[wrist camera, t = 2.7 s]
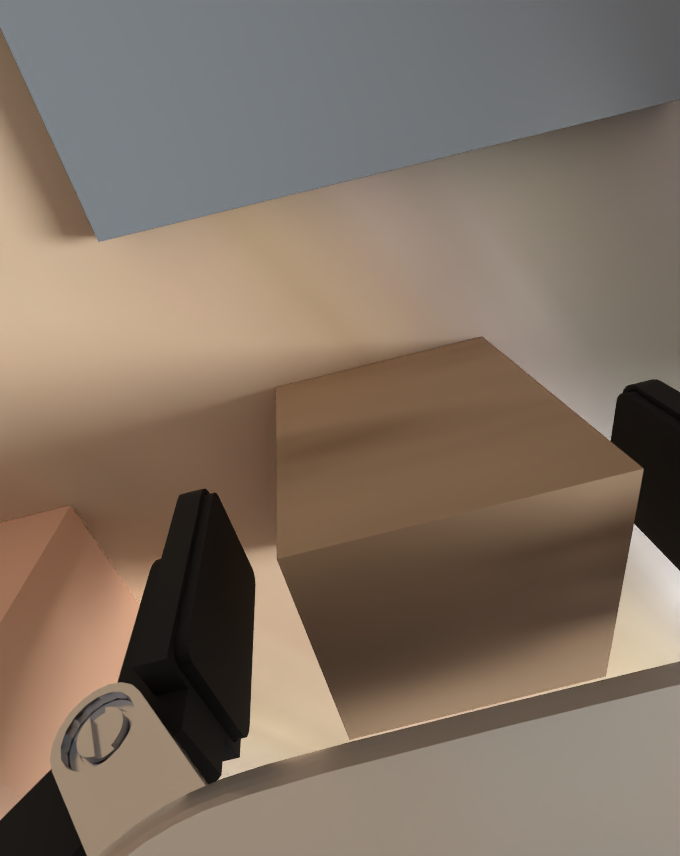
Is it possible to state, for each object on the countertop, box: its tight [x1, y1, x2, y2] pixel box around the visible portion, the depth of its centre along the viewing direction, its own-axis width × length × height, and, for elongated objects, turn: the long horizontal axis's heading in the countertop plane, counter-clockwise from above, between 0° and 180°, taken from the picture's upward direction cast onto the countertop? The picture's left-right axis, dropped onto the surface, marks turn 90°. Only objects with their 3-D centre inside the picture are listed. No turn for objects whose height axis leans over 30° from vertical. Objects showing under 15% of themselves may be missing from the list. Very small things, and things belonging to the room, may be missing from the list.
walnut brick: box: [276, 337, 644, 739], centre depth 11 cm, size 6×6×6 cm
